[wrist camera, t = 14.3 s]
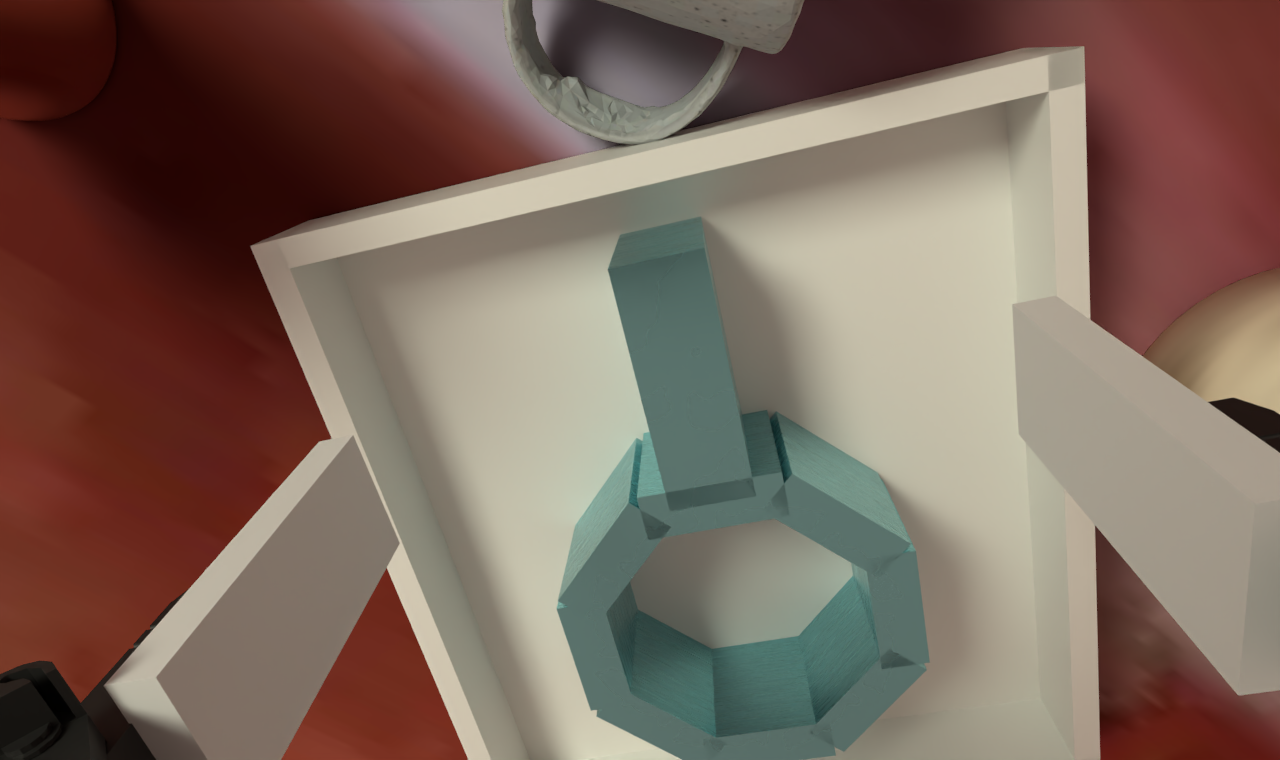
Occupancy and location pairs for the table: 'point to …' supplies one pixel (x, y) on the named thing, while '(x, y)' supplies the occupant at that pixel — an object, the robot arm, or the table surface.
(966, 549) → the tray
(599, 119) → the ceramic mug
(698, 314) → the ring
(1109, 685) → the table surface
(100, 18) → the beer glass
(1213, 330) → the wooden peg stand
